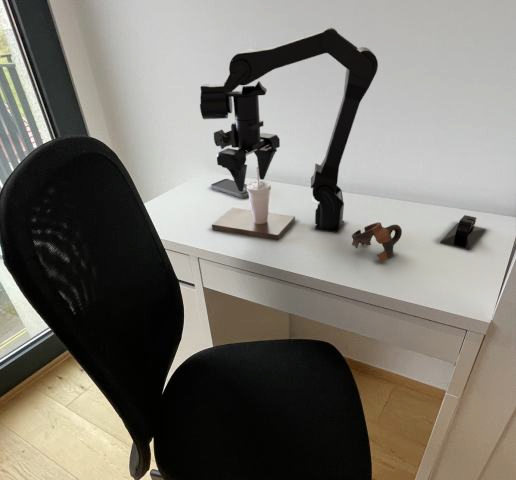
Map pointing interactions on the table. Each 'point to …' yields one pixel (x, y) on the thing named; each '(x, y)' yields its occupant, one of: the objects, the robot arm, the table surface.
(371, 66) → the robot arm
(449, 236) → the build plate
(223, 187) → the phone
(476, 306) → the table surface
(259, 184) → the smoothie
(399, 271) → the table surface
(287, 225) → the board
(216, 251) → the table surface
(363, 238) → the brown irregular piece
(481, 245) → the table surface
